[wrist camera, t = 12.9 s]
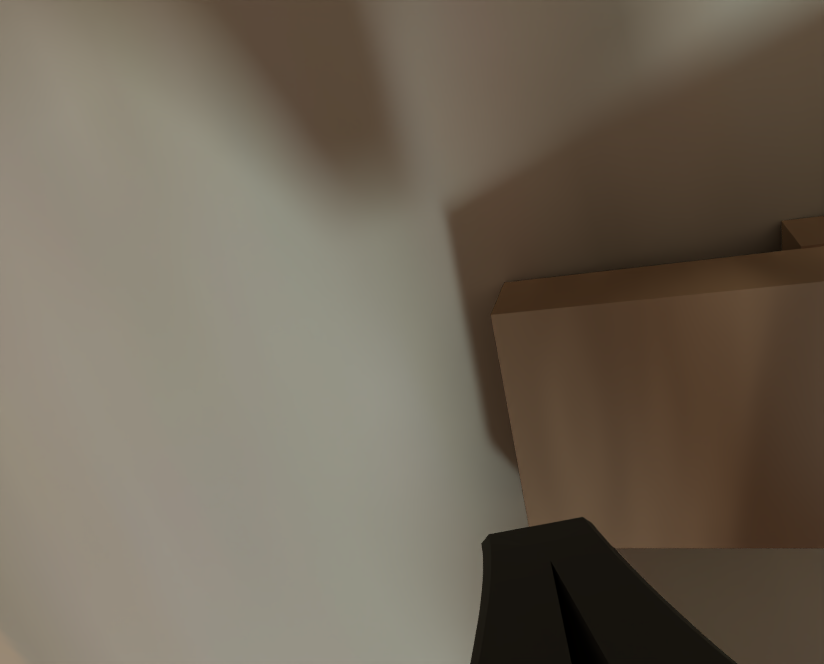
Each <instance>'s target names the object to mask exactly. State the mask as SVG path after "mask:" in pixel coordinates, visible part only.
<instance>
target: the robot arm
mask: <svg viewBox="0 0 824 664" xmlns="http://www.w3.org/2000/svg"><path fill="white" fill-rule="evenodd" d="M481 544H482V551H483V583H482V594H481V603H480V612H479V618H478V624H477V630H476V635H475V641H474V647H473V652H472V658H471V663H470V664H737V663H736V662H735V661H733V660H732V659H731V658H730V657H728V656H727V655H726V654H725V653H724V652H723V651H721V650H720V649H719V648H718V647H717V646H716V645H714V644H713V643H712V642H711V641H710V640H709V639H708V638H706V637H705V636H704V635H703V634H702V633H701V632H700V631H699V630H697V629H696V628H695V627H694V626H693V625H692V624H691V623H690V622H689V621H688V620H687V619H685V618H684V617H683V616H682V615H681V614H680V613H679V612H678V611H677V610H676V609H675V608H673V607H672V606H671V605H670V604H669V603H668V602H667V601H666V600H665V599H664V598H663V597H662V596H661V595H660V594H658V593H657V592H656V591H655V590H654V589H653V588H652V587H651V586H650V585H649V584H648V583H647V582H646V581H645V580H644V579H643V578H642V577H641V576H640V575H639V574H638V573H637V572H636V571H635V570H634V569H633V568H632V567H631V566H630V565H629V564H628V563H627V561H626V560H625V559H624V558H623V557H622V556H621V555H620V554H619V553H618V552H617V551H616V550H615V549H614V548H613V546H612V545H611V544H610V543H609V542H608V541H607V540H606V539H605V538H604V536H603V535H602V534H601V533H600V532H599V531H598V530H597V528H596V527H595V526H594V525H593V523H591V522H590V521H588V520H587V519H585V518H584V517H579V518H573V519H568V520H563V521H558V522H552V523H547V524H542V525H536V526H531V527H526V528H521V529H515V530H510V531H505V532H499V533H494V534H489V535H488V536H487V537H486V539H485V540H484V541H483V542H482V543H481Z"/></svg>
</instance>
